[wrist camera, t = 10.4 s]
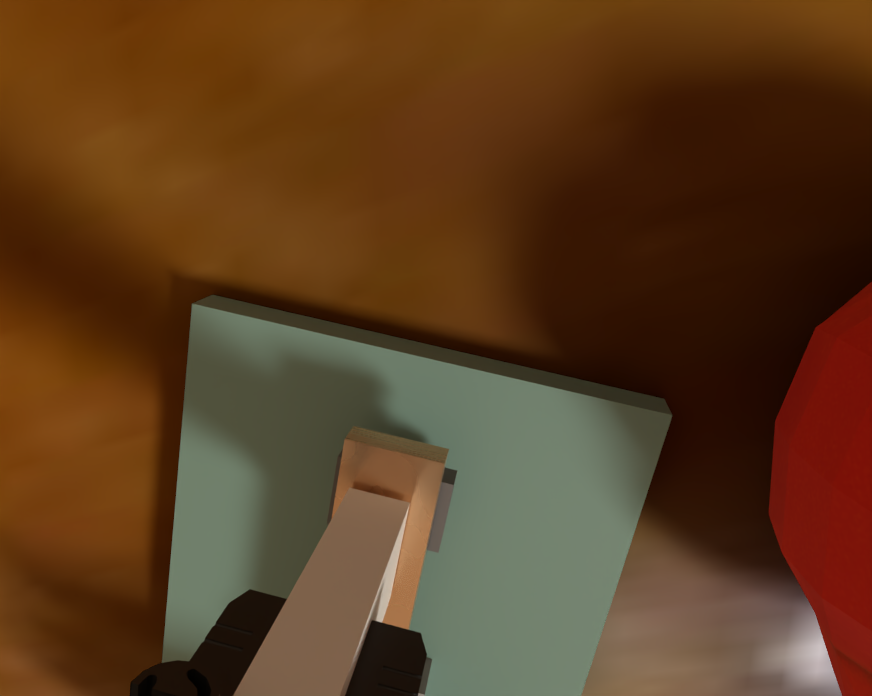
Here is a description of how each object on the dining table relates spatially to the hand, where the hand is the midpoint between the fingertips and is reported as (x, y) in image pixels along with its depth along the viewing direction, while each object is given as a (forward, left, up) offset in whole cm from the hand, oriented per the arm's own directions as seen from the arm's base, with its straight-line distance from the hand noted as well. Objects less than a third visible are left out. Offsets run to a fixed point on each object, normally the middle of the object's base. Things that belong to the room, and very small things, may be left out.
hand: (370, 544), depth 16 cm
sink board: (+11, 0, -4) cm, 12 cm away
